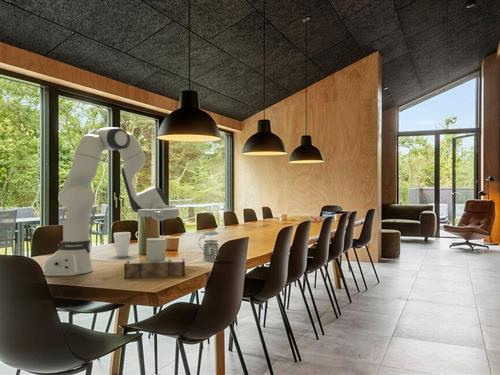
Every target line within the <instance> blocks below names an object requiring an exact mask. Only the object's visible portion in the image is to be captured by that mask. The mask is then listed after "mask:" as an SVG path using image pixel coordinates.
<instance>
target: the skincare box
mask: <svg viewBox="0 0 500 375" xmlns="http://www.w3.org/2000/svg"><path fill="white" fill-rule="evenodd" d="M145 245H146V247H145V251H146V252H145V262H146V261H166V238H160V237H156V238H154V237H153V238H151V237H149V238H146V244H145Z"/></svg>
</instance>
